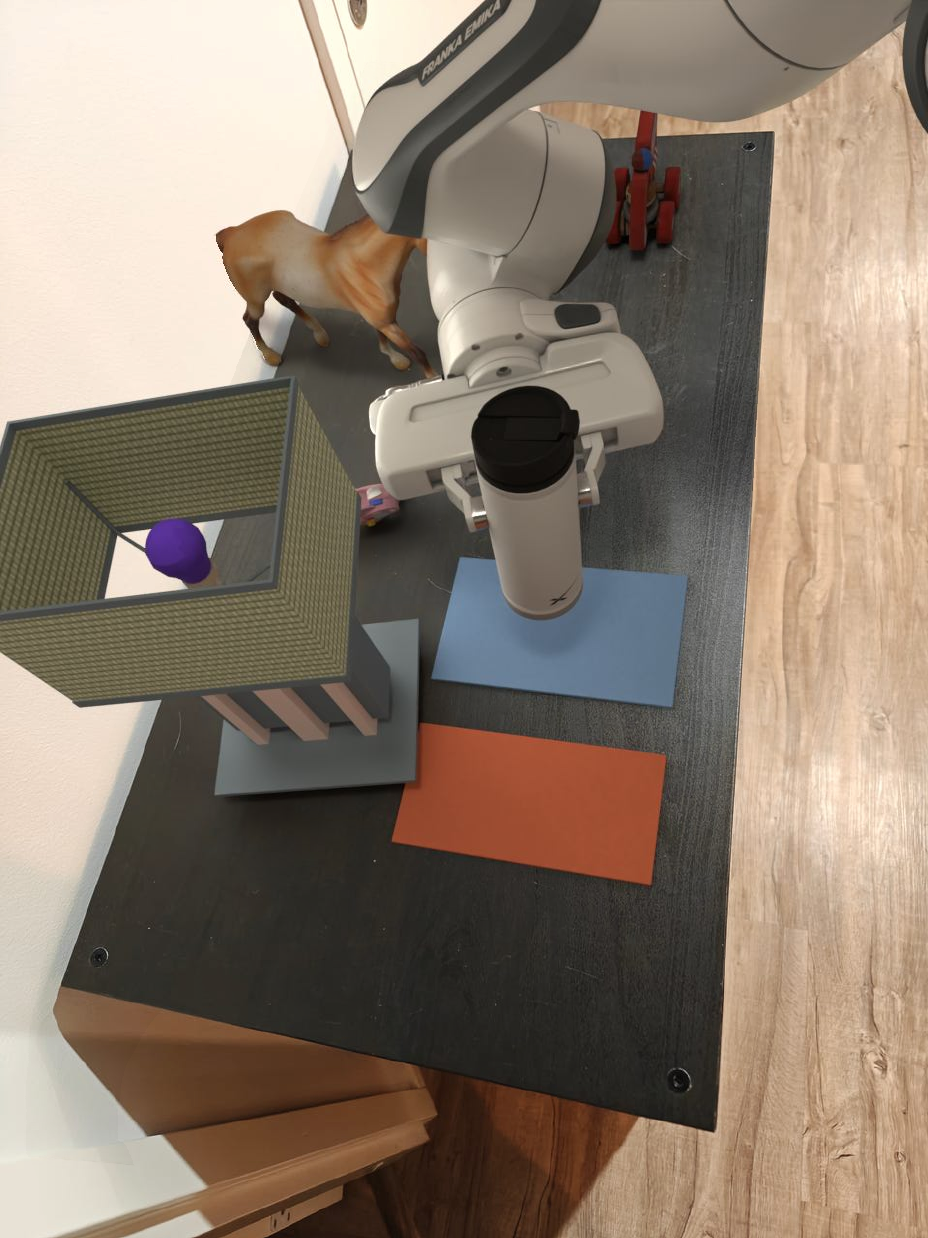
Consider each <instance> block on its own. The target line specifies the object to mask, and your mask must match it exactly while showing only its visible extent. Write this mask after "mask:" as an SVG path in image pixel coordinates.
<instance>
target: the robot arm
mask: <svg viewBox="0 0 928 1238" xmlns="http://www.w3.org/2000/svg"><path fill="white" fill-rule="evenodd" d="M904 23H905V24H904ZM903 24H904V31H903V37H902V52H901V53H902V54H901V61H902V72H903V79H904V80H903V81H904V84H905V88H906V93H907V96H908V99H909V102H910V105H911V108H912V110H913V111H914V114H915V116H916V118H917V120H918V122H919V123H920V125H921V127H922V128H923V130H924V131H925V132H926V134H927V135H928V0H483V1H482V2H480V4H479V5H478V6H476V8H475V9H474V10H473V11H472V12H470V14H469V15H468V16H467V17H465V18H464V19H463V20H462V21H461V22H460V23H459V24H458V25H457V26H456V27H455V28H454V29H453V30H452V31H451V32H450V33H449V34H448V35H447V36H445V38H444V39H443V40H442V41H441V42H439V43H438V44H437V45H436V47H434V48H433V49H432V50H431V51H430V52H429V53H427V55H425V57H424V58H423V59H422V60H420V61H418V62H417V63H415V64H412V65H410V66H408V67H407V68H405V69H403V70H401V71H399V72H398V73H396V74H395V75H393V76H391V77H390V78H389V79H387V80H386V81H385V82H384V83H382V84H381V85H380V86H379V87H377V88H378V89H376V90H375V91H374V92H373V94H372V95H371V96H370V98H369V100H368V101H367V104H366V106H365V108H364V109H363V112H362V115H361V117H360V120H359V123H358V125H357V129H356V132H355V137H354V140H353V147H352V153H351V161H350V163H351V165H350V176H351V184H352V188H353V190H354V192H355V194H356V196H357V198H358V200H359V202H360V204H361V205H362V206H363V208H364V209H365V211H366V213H367V214H369V215H370V217H371V218H372V219H373V221H374V222H375V223H376V225H377V226H378V227H379V228H380V229H381V231H382V232H383V233H386V234H392V235H399V236H405V237H411V238H417V239H421V238H426V239H427V256H426V271H427V282H428V290H429V296H430V302H431V306H432V311H433V312H434V315H435V316H436V318H437V320H438V321H439V322H438V327H437V343H438V349H439V355H440V362H441V366H442V371H443V372H442V374H440V375H439V376H435V377H430V378H427V377H426V378H423V379H419V380H416V381H415V382H411V383H407V384H398V385H397V384H396V385H393V386H390V387H389V388H387V389H385V393H384V394H382V395H379V396H378V397H377V398H376V399H375V400H374V401H373V402H371V403H370V405H369V408H368V409H369V410H368V417H369V418H368V420H369V427H370V430H371V432H372V434H373V435H374V437H375V440H374V441H375V442H374V454H375V466H376V471H377V474H378V476H379V479H380V482H381V484H383V486H384V488H385V490H386V491H387V492H388V493H389V494H390V495H392V496H393V497H395V498H396V499H398V500H400V501H403V500H409V499H413V498H419V497H422V496H426V495H431V494H436V493H439V492H444V491H445V492H446V495H447V498H448V500H449V501H450V502H451V503H452V504H453V505H454V506H455V507H456V508H458V510H460V511H461V512H462V513H463V514H464V518H465V523H466V526H467V529H468V532H469V533H475V532H478V531H483V530H487V529H488V530H489V528H490V527H489V524H488V518H487V515H486V512H485V508H484V503H483V498H482V495H478V496H471V495H470V494H469V493H468V487H467V486H470V485H475V484H479V479H478V474H477V470H476V465H475V456H474V451H473V445H472V440H471V431H472V427H473V424H474V421H475V420H476V419H477V418H478V413H479V412H480V410H481V409H482V407H483V405H484V404H485V403H487V402H488V401H489V400H490V399H491V398H493V397H494V396H496V395H498V394H499V393H501V392H504V391H506V390H508V389H512V388H515V387H520V386H541V387H546V388H548V389H551V390H553V391H555V392H557V393H558V394H560V395H561V396H562V397H563V398H564V399H565V400H566V401H567V403H568V405H569V406H570V409H574V410H577V411H578V413H579V419H580V426H579V432H578V436H577V438H576V439H575V440H574V445H575V455H576V461H578V460H583V461H584V465H585V467H584V468H583V469H584V470H583V471H582V472H577V487H578V506H579V509H582V508H586V507H592V506H595V505H599V504H601V501H600V493H599V486H598V483H599V481H600V478H601V476H602V473H603V471H604V469H605V466H606V464H607V463H606V454H610V453H613V452H617V451H623V450H627V449H632V448H636V447H641V446H644V445H649V444H653V443H654V442H656V441H657V440H658V438H659V436H660V434H661V433H662V432H663V429H664V425H665V424H664V422H665V421H664V420H665V415H664V414H665V413H664V402H663V401H664V400H663V397H662V394H661V391H660V388H659V385H658V382H657V380H656V378H655V376H654V373H653V371H652V368H651V367H650V364H649V362H648V360H647V359H646V357H645V356H644V354H643V351H642V350H641V349H640V347H639V346H638V344H637V343H636V342H635V341H634V340H633V339H632V338H630V337H629V336H627V335H626V334H623V333H622V331H621V325H620V321H619V317H618V316H619V315H618V314H617V310H616V308H615V306H614V305H613V304H611V303H609V302H603V301H597V302H596V301H595V302H594V301H593V302H591V301H589V302H583V301H582V302H573V301H572V302H571V301H569V302H568V301H554V300H550V298H551V296H552V295H557V294H559V293H560V292H562V291H563V290H565V289H566V288H567V287H568V286H569V285H570V284H571V283H572V282H574V281H575V279H576V278H577V277H578V276H579V275H580V274H582V272H583V271H584V270H585V269H586V268H588V266H589V265H590V264H591V263H592V262H593V261H594V259H595V258H596V257H597V255H598V254H599V252H600V251H601V250H602V248H603V247H604V244H605V243H606V242H605V241H606V239H607V237H608V235H609V233H610V230H611V228H612V225H613V222H614V217H615V212H616V200H617V195H616V183H615V175H614V171H615V169H614V165H613V161H612V157H611V154H610V152H609V148H608V146H607V145H606V142H605V141H604V139H603V137H602V136H601V134H600V133H599V132H598V131H596V130H594V129H589V128H587V127H585V126H582V125H580V124H577V123H573V122H570V121H569V120H565V119H563V118H559V117H556V116H553V115H550V114H547V113H545V112H541V111H538V110H532V109H533V108H534V107H535V108H536V107H539V106H543V105H548V104H549V105H550V104H558V103H559V104H560V103H577V104H579V103H581V104H582V103H583V104H594V105H604V106H612V107H618V108H624V109H631V110H637V111H640V110H641V111H647V112H652V113H657V114H658V115H661V116H667V117H674V118H678V119H683V120H690V121H694V122H695V121H696V122H703V123H731V122H736V121H741V120H745V119H749V118H753V117H755V116H758V115H761V114H764V113H766V112H769V111H772V110H775V109H776V108H777V109H778V108H780V107H781V106H784V105H787V104H789V103H791V102H793V101H795V100H797V99H799V98H801V97H802V96H805V95H806V94H808V93H809V92H811V91H812V90H814V89H815V88H817V87H818V86H820V85H822V84H823V83H824V82H826V81H827V80H828V79H830V78H831V77H832V76H834V75H835V74H836V73H838V72H840V71H841V70H842V69H843V68H845V67H846V66H847V65H848V64H850V63H851V62H853V61H854V60H855V59H856V58H858V57H859V56H861V55H862V54H864V53H865V52H866V51H868V50H869V49H870V48H872V47H873V46H874V45H875V44H877V43H878V42H879V41H881V40H882V39H883V38H885V37H886V36H887V35H889V34H890V33H892V32H893V31H894V30H896V29H897V28H898V27H900V26H902V25H903Z"/></svg>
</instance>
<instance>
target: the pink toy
mask: <svg viewBox="0 0 928 1238" xmlns="http://www.w3.org/2000/svg"><path fill="white" fill-rule="evenodd" d="M355 490H356V491H358V493H359V495H360V496H361V498H362V501H361V518H360V526H368V527H373V526H375V525H376V523H377V522H380V521H381V520H383V519H384V518H386V517H387V516H389V515H392V514H394V513H396V512H398V511H399V510H400V506H399V504H400V501H401V500H398V499H396V498H395V497H393V496H392V495H390V494H389V493H388V492H387V491H386V490H385V488H384V486H383V484H382V483H375V484H371V485H370V484H369V485H366V486H361V487H357V488H355Z"/></svg>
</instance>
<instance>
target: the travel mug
mask: <svg viewBox="0 0 928 1238" xmlns="http://www.w3.org/2000/svg"><path fill="white" fill-rule="evenodd" d="M579 426H580V419H579V413H578V411H577V410H574V409H570V406H569V405H568V403H567V401H566V400H565V399H564V398H563V397H562V396H561V395H560V394H558V393H557V392H555V391H553V390H551V389H548V388H546V387H541V386H520V387H515V388H512V389H508V390H506V391H504V392H501V393H499V394H498V395H496V396H494V397H493V398H491V399H490V400H489V401H488V402H487V403H485V404H484V405H483V407H482V409H481V410H480V412H479V413H478V418H477V419H476V420H475V421H474V424H473V427H472V431H471V440H472V445H473V451H474V456H475V465H476V470H477V474H478V479H479V483H478V484H479V488H480V493H481V496H482V498H483V503H484V508H485V512H486V515H487V518H488V524H489V527H490V528H488V531H489V535H490V540H491V544H492V549H493V554H494V560H496V564H497V569H498V574H499V578H500V583H501V588H502V592H503V596H504V599H505V601H506V603H507V604H508V606H509V607H510V608H511V609H512V610H513V611H514V612H515V613H517V614H519V615H520V616H522V617H525V618H528V619H532V620H550V619H554V618H557V617H560V616H562V615H563V614H565V613H567V612H568V611H569V610H571V609H572V608H573V607H574V606H575V604H576V603H577V602H578V600H579V598H580V596H581V593H582V589H583V573H582V567H583V556H582V543H581V541H582V540H581V525H580V523H581V521H580V508H579V506H578V487H577V474H578V472H577V460H576V455H575V445H574V440H575V439H576V438H577V436H578V432H579Z"/></svg>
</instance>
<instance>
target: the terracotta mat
mask: <svg viewBox="0 0 928 1238" xmlns="http://www.w3.org/2000/svg"><path fill="white" fill-rule="evenodd" d="M667 759H668V758H667V754H660V753H653V752H646V751H638V750H633V749H632V750H630V749H623V748H617V747H615V748H614V747H609V746H601V745H593V744H586V743H579V742H578V743H577V742H570V741H562V740H555V739H548V738H541V737H534V736H533V737H532V736H525V735H518V734H510V733H503V732H494V731H488V730H479V729H474V728H467V727H465V728H464V727H457V726H451V725H442V724H435V723H428V722H419V725H418V742H417V782H410V783H404V788H403V791H402V796H401V800H400V805H399V809H398V812H397V816H396V821H395V824H394V825H395V826H394V829H393V833H392V838H391V843H393V844H399V845H404V846H405V845H406V846H412V847H418V848H423V849H429V850H433V851H440V852H441V851H442V852H447V853H451V854H452V853H453V854H458V855H464V856H470V857H476V858H483V859H488V860H495V861H499V862H507V863H512V864H517V865H524V866H531V867H536V868H542V869H547V870H553V871H559V872H565V873H572V874H577V875H584V876H589V877H594V878H595V877H596V878H601V879H607V880H612V881H618V882H625V883H630V884H637V885H641V886H642V885H643V886H648V887H651V886H652V882H653V874H654V865H655V858H656V848H657V840H658V833H659V825H660V815H661V807H662V799H663V790H664V782H665V774H666V766H667Z"/></svg>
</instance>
